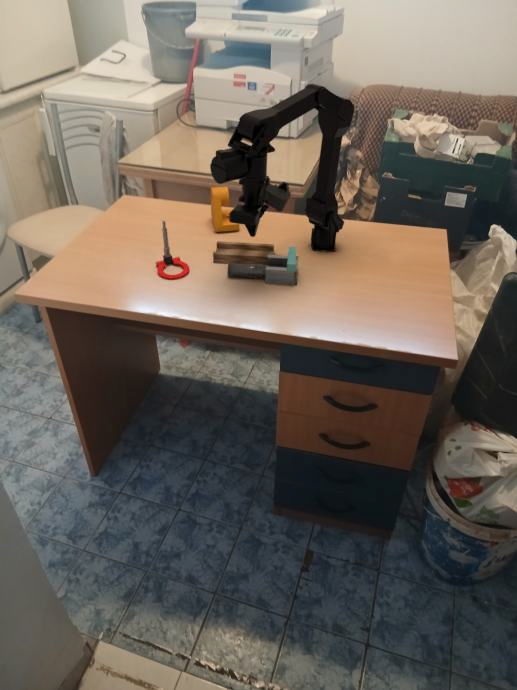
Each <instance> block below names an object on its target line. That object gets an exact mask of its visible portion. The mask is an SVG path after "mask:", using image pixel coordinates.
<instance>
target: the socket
mask: <svg viewBox="0 0 517 690" xmlns="http://www.w3.org/2000/svg"><path fill="white" fill-rule="evenodd" d="M287 261H288V255H283V254H282V255H281V254H274V255H268V264H267V265H280V266H282V267H266V279H265V281H264V283H265V284H266V285H281V286H282V285H283V286H297V283H298V269H299V256H298V255H296V263H295V272H293V271H287Z"/></svg>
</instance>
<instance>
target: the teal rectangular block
mask: <svg viewBox="0 0 517 690" xmlns="http://www.w3.org/2000/svg"><path fill="white" fill-rule="evenodd" d="M287 251H288V254H287V256H288V261H287V271H293V272H295V263H296V256H297V246H288V250H287Z"/></svg>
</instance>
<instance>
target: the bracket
mask: <svg viewBox="0 0 517 690" xmlns="http://www.w3.org/2000/svg"><path fill="white" fill-rule="evenodd" d="M229 193H230V192H229V187H228V186H217V187H216V186H215V187H210V216H211V219H212V225H213V228H214V231H215V232H218V233H219V232H228V231H229V232H230V231H239V230H240V224H237V223H231V222H230V221H229V213H230V212H231V211H232V209H233V208H229V209H222V207H225V206H226V207H227V206H228V207H229V206H230V194H229Z"/></svg>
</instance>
